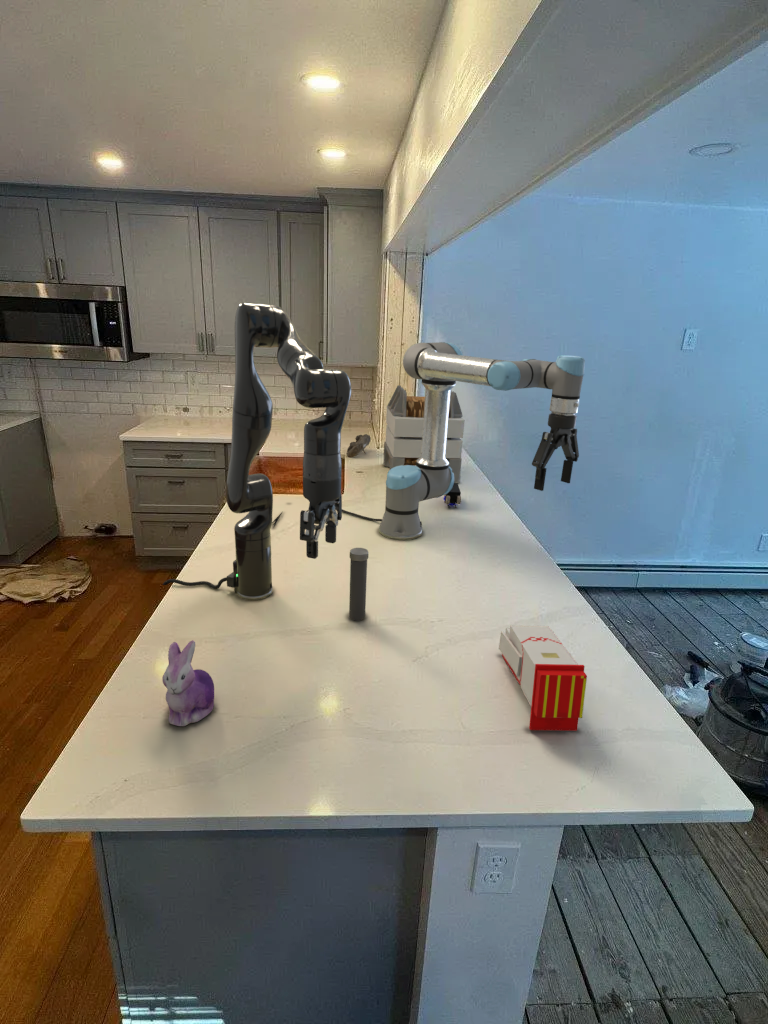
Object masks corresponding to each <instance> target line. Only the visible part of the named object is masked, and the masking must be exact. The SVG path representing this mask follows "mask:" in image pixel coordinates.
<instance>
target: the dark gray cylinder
mask: <svg viewBox="0 0 768 1024" xmlns="http://www.w3.org/2000/svg"><path fill="white" fill-rule="evenodd" d="M349 564H350V565H349V568H350V569H349V570H350V571H349V606H348V608H349V609H348V618H349V619H350V620H352V621H355V622H359V621H363V620H365V619H366V605H367V579H368V578H367V577H368V576H367V575H368V559H367V560H365V561H354V560H351V559H350V563H349Z"/></svg>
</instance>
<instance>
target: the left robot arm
mask: <svg viewBox="0 0 768 1024" xmlns="http://www.w3.org/2000/svg"><path fill="white" fill-rule="evenodd" d="M255 348H265V349H266V348H268V349H270V348H271V349H272V348H273V349H274V348H277V350H276V360H277V364H278V367H279V368H280V369H281V372H283V373H284V375H285V376H286V377H287V378H288V379H289V381H290V383H291V386H292V389H293V393H294V394H293V395H294V398H295V401H296V402H297V403H298V404H299V405H300V406H302V407H304V408H307V409H323V408H324V412H323V413H322V415H320V416H318V417H316V418H314V419H311V420H309V421H307V422H305V424H304V427H303V456H302V457H303V458H302V496H303V498H304V499H306V500H307V501H308V503H309V504H308V509H307V510H301V511H300V514H299V540H300V541H304V542H306V545H305V547H306V552H305V553H306V557H307V558H308V559H314V560H317V558H318V557H319V537H320V533H321V532H323V531H324V530H325V531H324V532H325V534H324V535H325V537H324V538H325V539H324V540H325V542H326V543H328V544H335V543H336V542H337V527H338V525H339V521H342V518H343V512H342V510H343V495H342V467H343V466H342V463H343V462H342V454H341V450H342V449H341V447H342V446H341V445H342V428H343V425H344V421H345V417H346V414H347V410H348V406H349V403H350V401H351V395H352V384H351V379H350V376H348V373H347V372H346V371H344V370H343V369H340V368H324V365H323V362H322V360H321V359H320V358H319V357H318V356H317V354H316V353H314V352H313V350H312V349H310V347H308V346H307V344H306V343H305V342H304V341H303V339H302V337H301V336H300V334H299V332H298V331H297V328H296V326H295V325H294V323H293V321H292V320H291V318H290V316H289V315H288V313H287V312H286V310H284V308H282V306H279V305H276V304H269V303H258V302H241V303H239V305H238V306H237V307H236V311H235V316H234V352H235V353H234V361H235V363H234V364H235V366H234V367H235V368H234V369H235V372H234V388H233V402H232V414H231V417H232V418H231V419H232V420H231V426H232V427H231V443H230V454H229V462H228V470H227V475H226V482H225V500H226V504H227V508H228V509H229V511H231V512H232V513H233V514H245V513H247V514H246V515H245V516H244V517H242V518H241V519H240V520H238V521H237V522H236V523H235V524H234V528H233V529H234V545H235V548H234V549H235V560H233V562H232V569H233V570H232V572H230V573H229V574H228V575H227V576H226V577H223V578H221V579H219V581H218V582H217V584H213V583H212V582H210V581H205V580H201V581H195V582H194V581H192V582H189V581H183V580H179V579H176V578H170V579H167V580H165V581H163V583H162V585H163V586H167V585H168V584H171V583H173V584H178V585H181V586H184V587H185V586H186V587H196V586H208V587H209V588H211V589H213V590H217V589H220V587H221V586H222V584H223V583H224V582H226V586H227V588H231V589H233V590H234V591H233V592H234V594H235V595H237V596H238V597H239V598H241V599H243V600H245V601H258V600H259V601H260V600H263V599H267V598H268V597H269V596H271V595H272V594H273V574H272V572H273V571H272V540H271V539H272V536H271V529H272V526H273V523H272V522H273V511H274V509H273V507H274V492H273V486H272V483H271V480H270V478H269V477H268V476H267V475H266V474H264V473H254V474H253V473H252V474H250V470H251V466H252V464H253V461H254V460H255V458H256V457H257V455H258V453H259V452H260V451H261V449H262V447H264V445H265V443H266V441H267V440H268V438H269V437H270V433H271V430H272V425H273V424H272V423H273V411H274V404H273V401H272V398H271V395H270V393H269V392H268V389H267V388H266V386H265V384H264V383H263V381H262V379H261V378H260V376H259V373H258V371H257V369H256V364H255V360H254V349H255ZM324 527H325V529H324Z"/></svg>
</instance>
